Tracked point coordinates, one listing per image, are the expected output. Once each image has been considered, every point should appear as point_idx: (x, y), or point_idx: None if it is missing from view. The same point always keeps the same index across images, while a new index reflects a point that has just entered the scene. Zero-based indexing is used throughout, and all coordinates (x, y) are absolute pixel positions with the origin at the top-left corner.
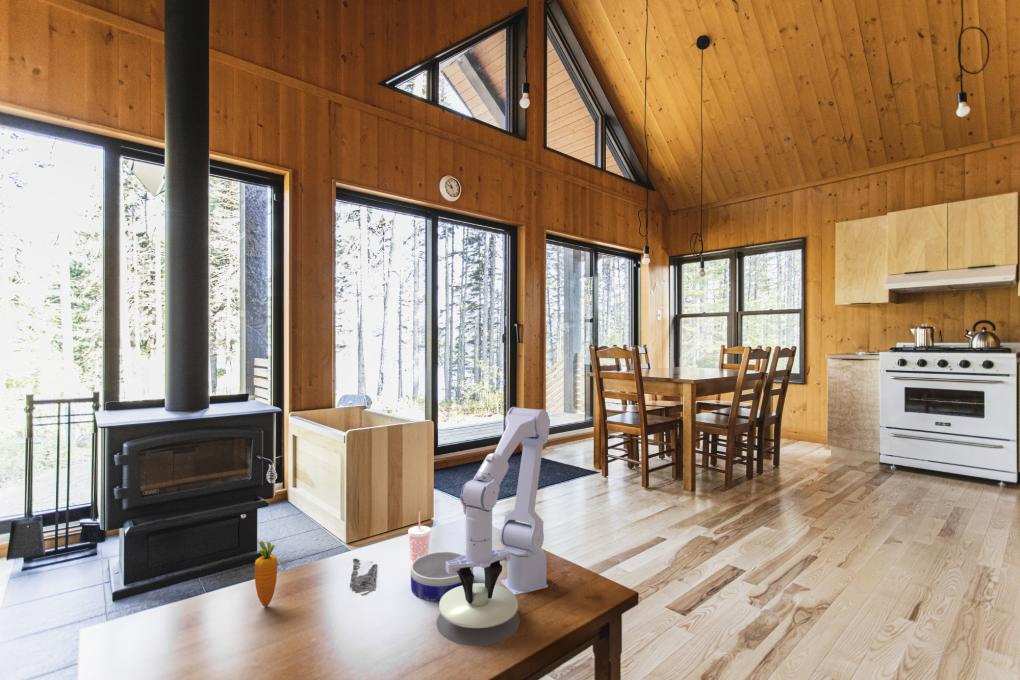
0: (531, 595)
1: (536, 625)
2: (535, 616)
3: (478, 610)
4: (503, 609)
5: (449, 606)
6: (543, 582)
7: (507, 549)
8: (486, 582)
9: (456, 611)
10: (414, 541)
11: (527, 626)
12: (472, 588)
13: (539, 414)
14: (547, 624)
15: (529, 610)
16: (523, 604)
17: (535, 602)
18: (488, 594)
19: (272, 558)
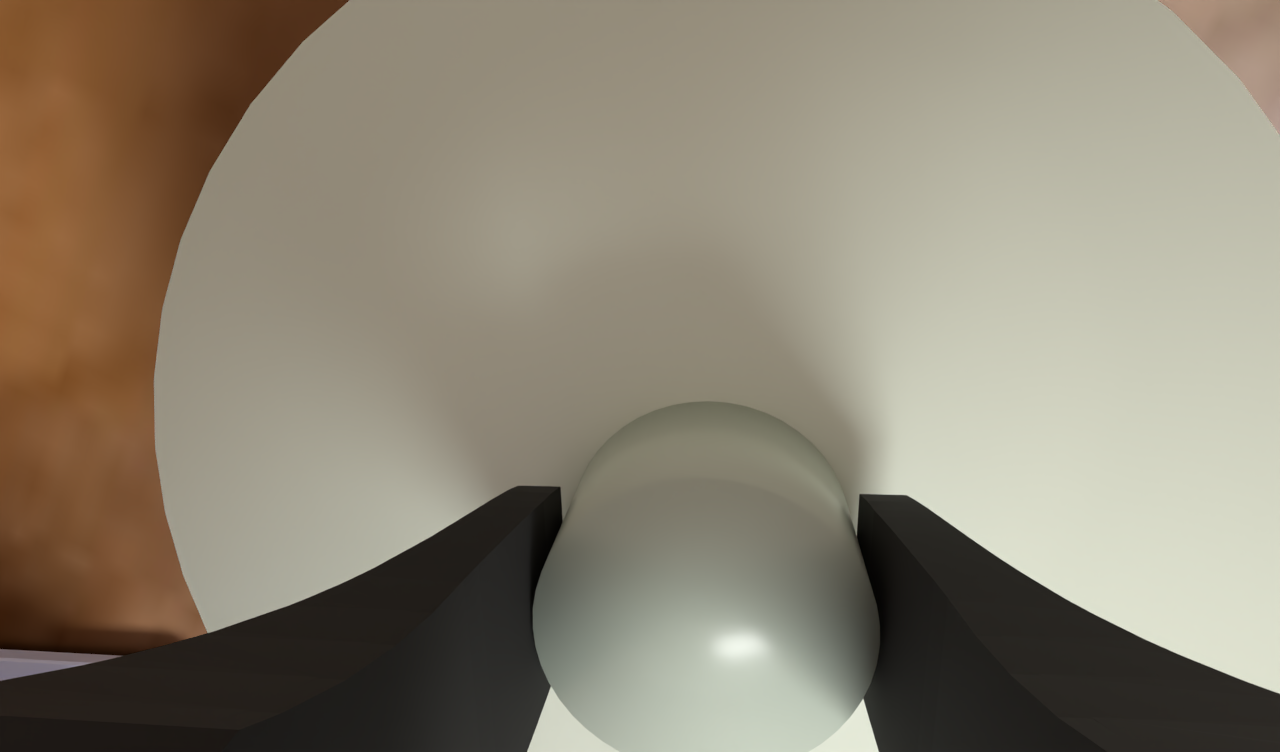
0: (38, 604)
1: (142, 80)
2: (103, 249)
3: (815, 325)
4: (441, 180)
5: (1159, 616)
6: None
7: None
8: (503, 739)
9: (1144, 447)
10: None
11: (244, 107)
12: (950, 602)
13: None
14: (19, 43)
15: (132, 380)
16: (159, 503)
17: (33, 481)
18: (549, 532)
19: None
